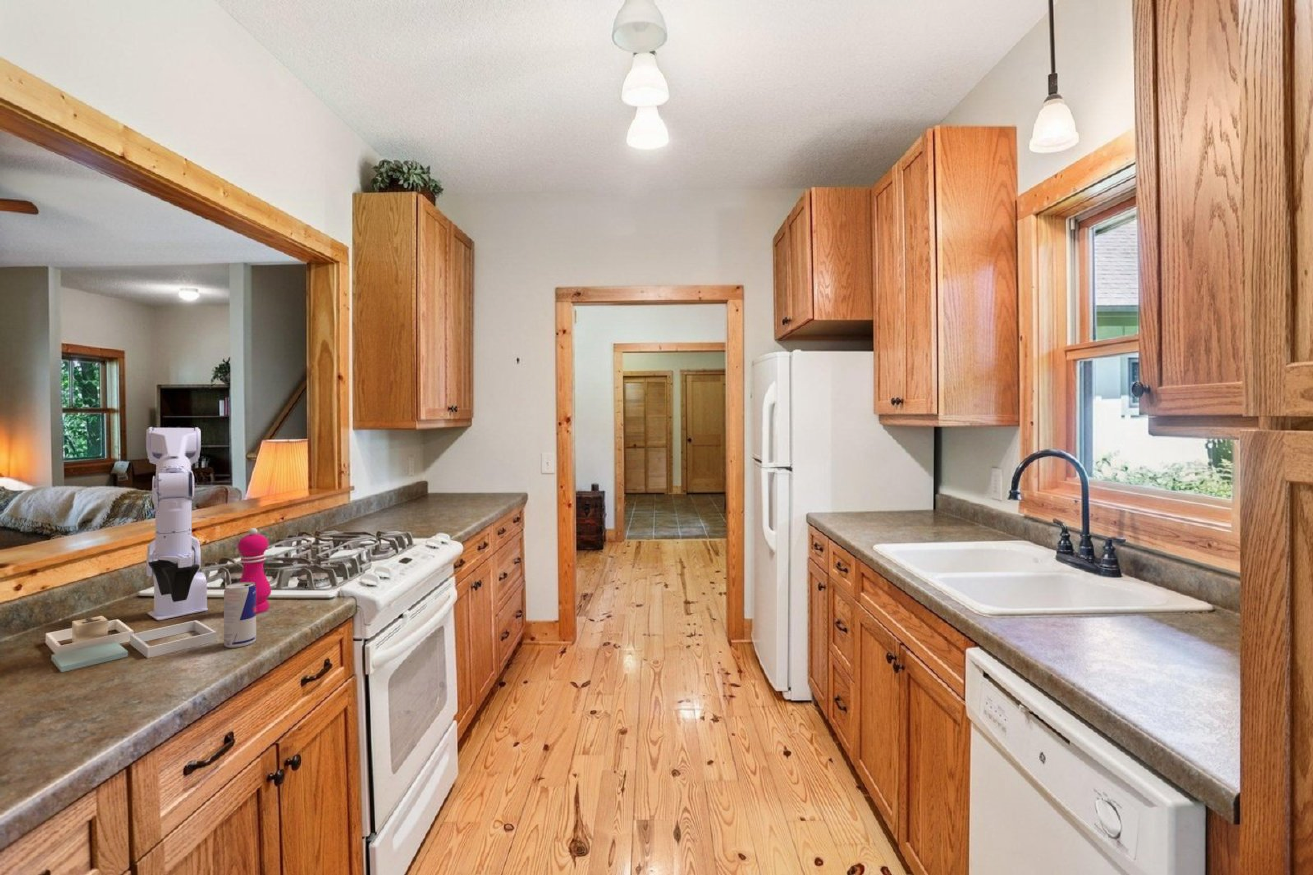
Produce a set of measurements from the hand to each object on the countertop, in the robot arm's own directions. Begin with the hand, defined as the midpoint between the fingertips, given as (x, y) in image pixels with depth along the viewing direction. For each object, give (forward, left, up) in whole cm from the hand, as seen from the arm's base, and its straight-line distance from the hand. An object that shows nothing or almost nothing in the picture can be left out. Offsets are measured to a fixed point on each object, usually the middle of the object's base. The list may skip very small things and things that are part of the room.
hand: (173, 597), depth 118 cm
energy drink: (-8, +11, -10) cm, 17 cm away
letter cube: (+10, -14, -10) cm, 20 cm away
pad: (+12, -2, -9) cm, 15 cm away
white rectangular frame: (0, 0, -9) cm, 9 cm away
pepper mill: (-18, -11, -10) cm, 23 cm away
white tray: (+10, -14, -9) cm, 20 cm away
